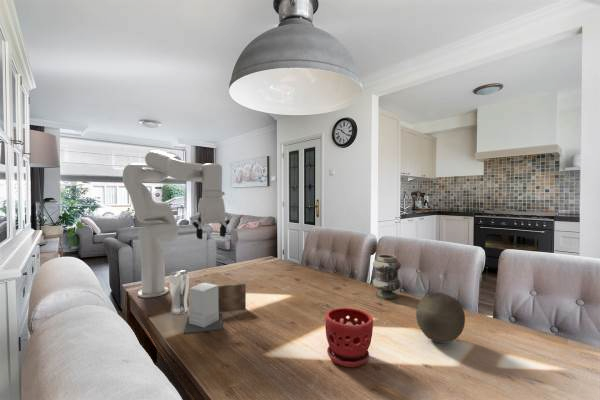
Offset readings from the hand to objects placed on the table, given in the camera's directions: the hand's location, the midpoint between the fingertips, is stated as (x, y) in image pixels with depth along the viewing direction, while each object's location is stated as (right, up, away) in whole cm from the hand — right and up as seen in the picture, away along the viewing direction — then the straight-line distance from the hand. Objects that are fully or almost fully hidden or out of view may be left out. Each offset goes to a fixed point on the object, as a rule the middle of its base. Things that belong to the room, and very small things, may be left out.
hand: (211, 237), depth 117 cm
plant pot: (+49, -30, -34) cm, 67 cm away
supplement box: (+2, -28, -14) cm, 31 cm away
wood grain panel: (+5, -28, -3) cm, 29 cm away
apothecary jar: (+74, -28, +14) cm, 81 cm away
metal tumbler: (-11, -28, -4) cm, 31 cm away
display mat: (+2, -29, -14) cm, 32 cm away
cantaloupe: (+79, -29, -26) cm, 88 cm away
